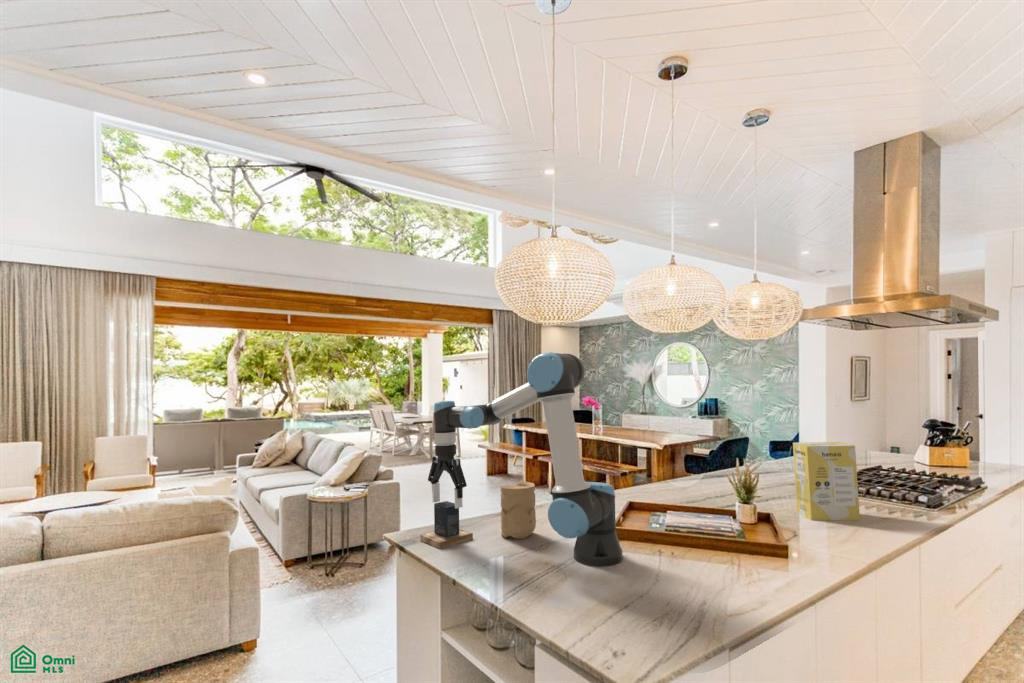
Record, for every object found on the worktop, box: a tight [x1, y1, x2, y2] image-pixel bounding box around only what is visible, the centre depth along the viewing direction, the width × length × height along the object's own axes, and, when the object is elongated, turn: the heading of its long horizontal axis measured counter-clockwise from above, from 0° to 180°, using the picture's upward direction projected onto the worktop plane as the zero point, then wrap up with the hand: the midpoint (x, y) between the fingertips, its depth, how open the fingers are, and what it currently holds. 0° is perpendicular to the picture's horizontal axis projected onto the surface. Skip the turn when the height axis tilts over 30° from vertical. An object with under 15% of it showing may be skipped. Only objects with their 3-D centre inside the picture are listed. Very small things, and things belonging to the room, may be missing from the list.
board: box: [420, 528, 474, 550], centre depth 178 cm, size 12×14×2 cm
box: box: [433, 500, 460, 538], centre depth 179 cm, size 8×6×11 cm
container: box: [500, 481, 537, 540], centre depth 182 cm, size 13×13×18 cm
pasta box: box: [792, 441, 861, 521], centre depth 199 cm, size 18×10×28 cm, turn 88°
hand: (447, 504), depth 179 cm, fingers open, 13 cm apart
